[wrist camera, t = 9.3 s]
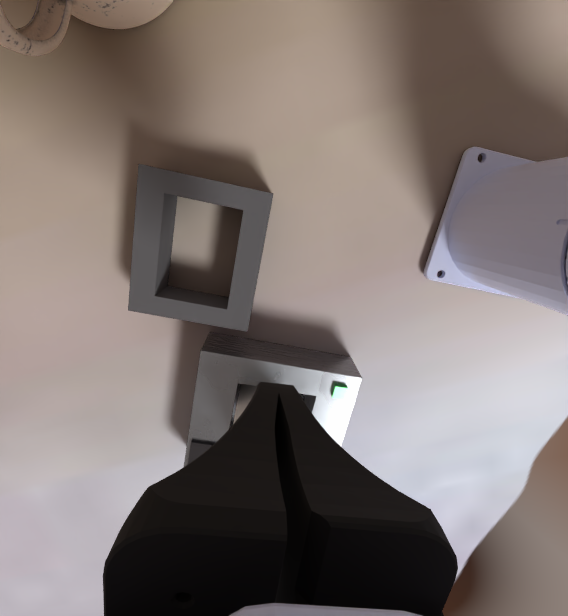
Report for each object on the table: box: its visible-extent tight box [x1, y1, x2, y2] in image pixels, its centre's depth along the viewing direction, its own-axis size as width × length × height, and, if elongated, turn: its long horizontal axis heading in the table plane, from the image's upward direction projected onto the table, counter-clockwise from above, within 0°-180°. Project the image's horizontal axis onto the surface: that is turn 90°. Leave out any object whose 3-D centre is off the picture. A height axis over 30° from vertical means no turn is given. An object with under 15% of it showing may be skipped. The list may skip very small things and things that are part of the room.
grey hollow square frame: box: [128, 164, 273, 332], centre depth 19 cm, size 7×8×2 cm
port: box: [184, 332, 362, 467], centre depth 22 cm, size 10×10×3 cm
